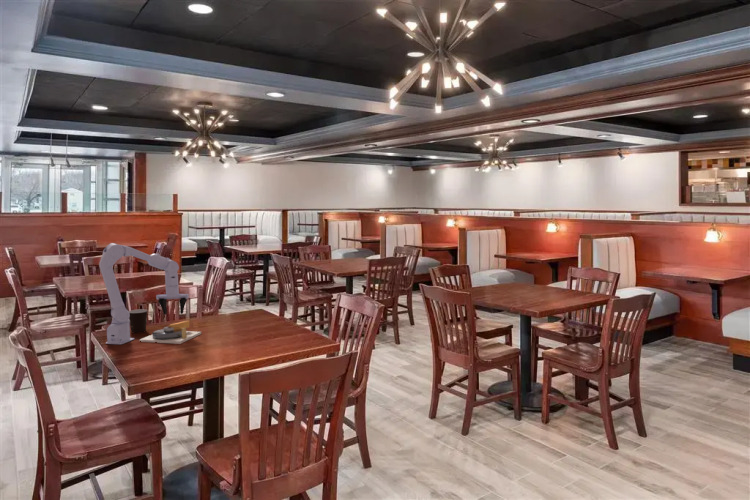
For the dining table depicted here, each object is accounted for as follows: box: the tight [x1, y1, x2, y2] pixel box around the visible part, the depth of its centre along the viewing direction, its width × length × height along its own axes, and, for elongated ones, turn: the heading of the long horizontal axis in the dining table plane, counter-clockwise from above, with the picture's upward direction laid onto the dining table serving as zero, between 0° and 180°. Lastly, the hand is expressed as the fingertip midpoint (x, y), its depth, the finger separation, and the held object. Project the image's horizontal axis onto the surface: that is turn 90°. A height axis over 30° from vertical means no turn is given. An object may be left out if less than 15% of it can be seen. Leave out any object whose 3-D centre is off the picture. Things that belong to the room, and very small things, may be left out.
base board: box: [139, 328, 202, 345], centre depth 245 cm, size 18×20×6 cm
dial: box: [151, 320, 190, 339], centre depth 245 cm, size 18×14×4 cm
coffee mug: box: [128, 308, 148, 334], centre depth 258 cm, size 12×9×10 cm
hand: (173, 313), depth 251 cm, fingers open, 7 cm apart
